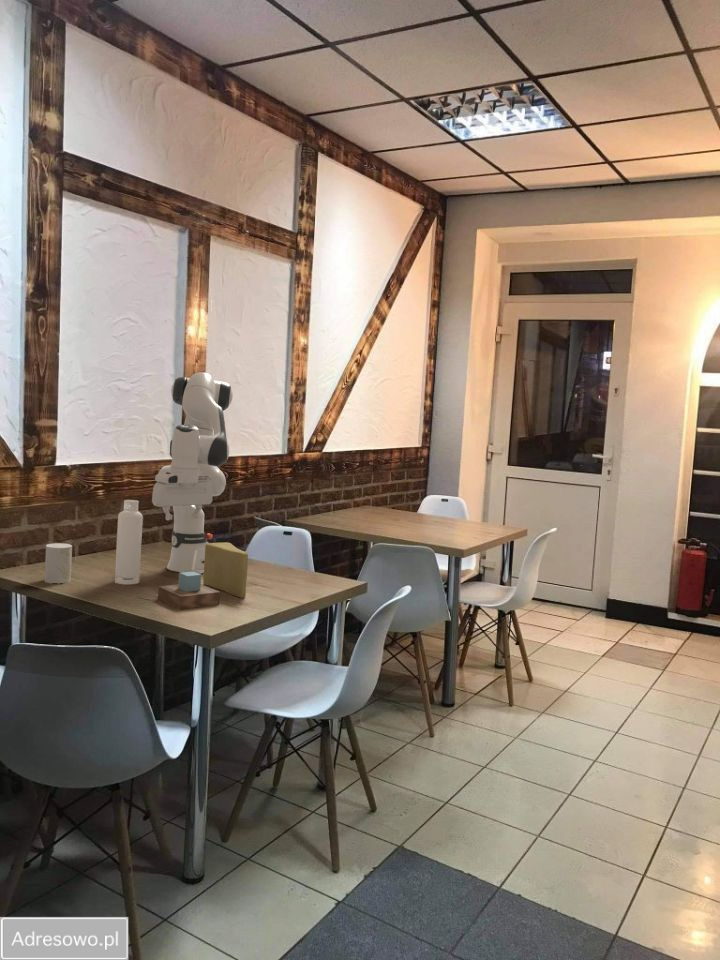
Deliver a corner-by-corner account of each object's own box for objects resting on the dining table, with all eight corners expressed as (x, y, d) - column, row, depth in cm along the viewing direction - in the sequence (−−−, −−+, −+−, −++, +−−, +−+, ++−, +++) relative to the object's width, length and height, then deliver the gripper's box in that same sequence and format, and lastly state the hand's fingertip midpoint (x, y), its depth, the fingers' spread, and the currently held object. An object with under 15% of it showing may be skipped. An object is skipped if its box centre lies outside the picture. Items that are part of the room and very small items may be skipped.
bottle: (144, 581, 274) (148, 501, 271) (128, 585, 266) (132, 503, 264) (125, 577, 277) (130, 498, 275) (109, 581, 270) (113, 500, 267)
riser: (196, 594, 262) (196, 582, 261) (219, 604, 252) (220, 591, 251) (157, 598, 252) (158, 586, 252) (180, 609, 242) (181, 596, 242)
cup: (61, 584, 261) (63, 548, 260) (39, 581, 262) (40, 546, 261) (75, 579, 269) (76, 545, 268) (53, 577, 270) (55, 542, 269)
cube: (192, 586, 255) (192, 571, 255) (200, 590, 252) (201, 574, 251) (178, 588, 252) (179, 572, 251) (186, 591, 248) (187, 576, 248)
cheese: (256, 597, 265) (259, 553, 263) (230, 599, 259) (233, 554, 258) (227, 582, 283) (229, 541, 281) (202, 584, 277) (204, 542, 276)
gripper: (206, 474, 261) (204, 515, 263) (150, 475, 247) (148, 519, 249) (217, 476, 257) (215, 519, 258) (160, 478, 242) (158, 522, 244)
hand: (182, 519), depth 253 cm, fingers open, 8 cm apart
